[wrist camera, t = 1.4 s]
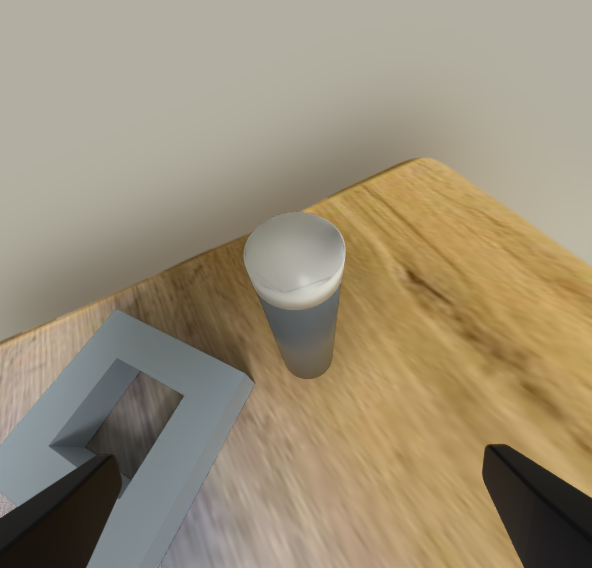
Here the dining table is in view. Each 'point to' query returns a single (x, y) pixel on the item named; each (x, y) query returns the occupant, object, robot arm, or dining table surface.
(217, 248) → the dining table surface
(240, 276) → the dining table surface
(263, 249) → the peg
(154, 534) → the socket
